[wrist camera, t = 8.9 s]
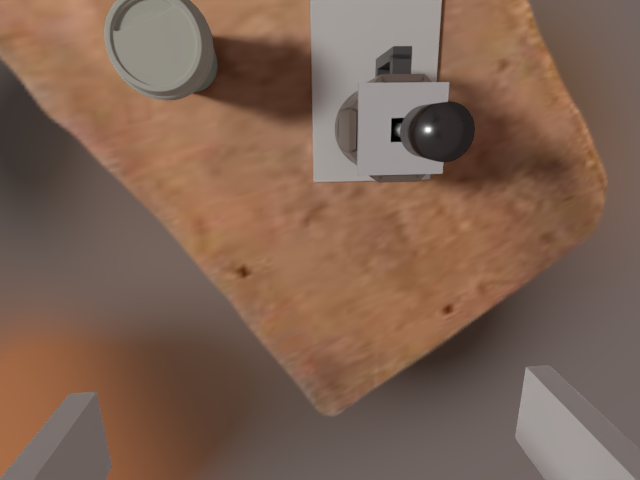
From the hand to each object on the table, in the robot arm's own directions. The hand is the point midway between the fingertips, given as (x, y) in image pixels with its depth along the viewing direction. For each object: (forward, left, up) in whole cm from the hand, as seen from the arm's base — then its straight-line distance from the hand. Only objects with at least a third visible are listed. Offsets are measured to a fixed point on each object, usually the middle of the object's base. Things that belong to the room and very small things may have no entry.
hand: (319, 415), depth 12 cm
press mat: (-12, +9, -37) cm, 40 cm away
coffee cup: (-15, -11, -37) cm, 41 cm away
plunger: (-8, +9, -31) cm, 33 cm away
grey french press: (-9, +9, -36) cm, 38 cm away
